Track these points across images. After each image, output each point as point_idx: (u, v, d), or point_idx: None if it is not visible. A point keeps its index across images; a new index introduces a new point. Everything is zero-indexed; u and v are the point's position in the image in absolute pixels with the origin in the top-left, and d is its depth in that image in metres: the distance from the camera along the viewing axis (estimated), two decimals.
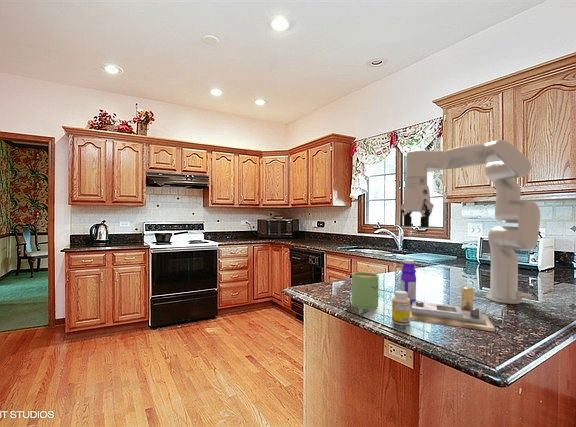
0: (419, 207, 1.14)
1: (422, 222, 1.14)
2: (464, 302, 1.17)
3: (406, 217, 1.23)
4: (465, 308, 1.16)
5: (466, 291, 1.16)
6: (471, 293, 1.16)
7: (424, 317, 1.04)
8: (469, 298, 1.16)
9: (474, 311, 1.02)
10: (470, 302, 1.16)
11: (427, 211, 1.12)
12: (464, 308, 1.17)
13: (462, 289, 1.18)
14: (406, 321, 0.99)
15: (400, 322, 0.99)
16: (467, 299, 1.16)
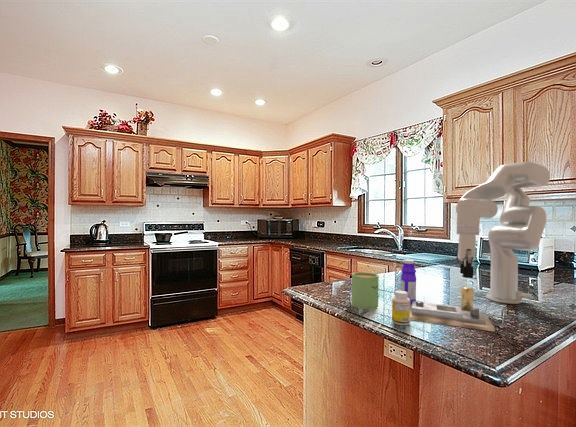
0: None
1: None
2: (464, 302, 1.17)
3: None
4: (465, 308, 1.16)
5: (466, 291, 1.16)
6: (471, 293, 1.16)
7: (424, 317, 1.04)
8: (469, 298, 1.16)
9: (474, 311, 1.02)
10: (470, 302, 1.16)
11: None
12: (464, 308, 1.17)
13: (462, 289, 1.18)
14: (406, 321, 0.99)
15: (400, 322, 0.99)
16: (467, 299, 1.16)
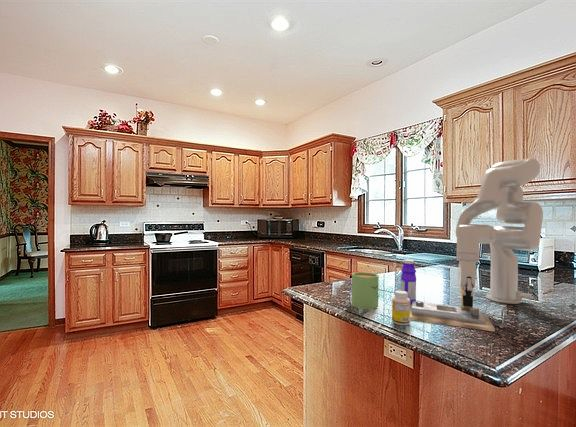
0: None
1: None
2: None
3: None
4: (465, 308, 1.16)
5: None
6: None
7: (424, 317, 1.04)
8: None
9: (474, 311, 1.02)
10: None
11: None
12: (464, 308, 1.17)
13: (462, 289, 1.18)
14: (406, 321, 0.99)
15: (400, 322, 0.99)
16: None
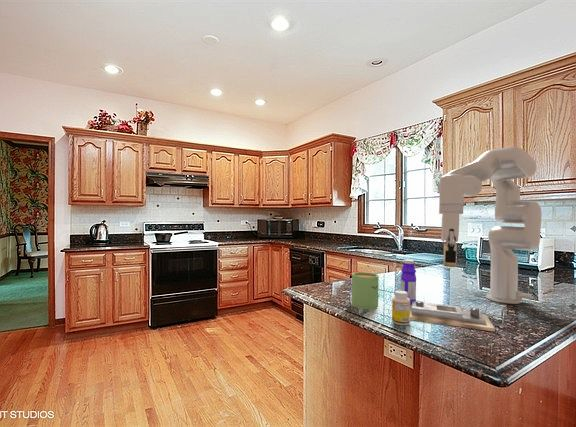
0: None
1: None
2: None
3: None
4: (448, 265, 1.07)
5: None
6: None
7: (424, 317, 1.04)
8: None
9: (474, 311, 1.02)
10: None
11: None
12: (446, 265, 1.07)
13: (445, 244, 1.08)
14: (406, 321, 0.99)
15: (400, 322, 0.99)
16: None
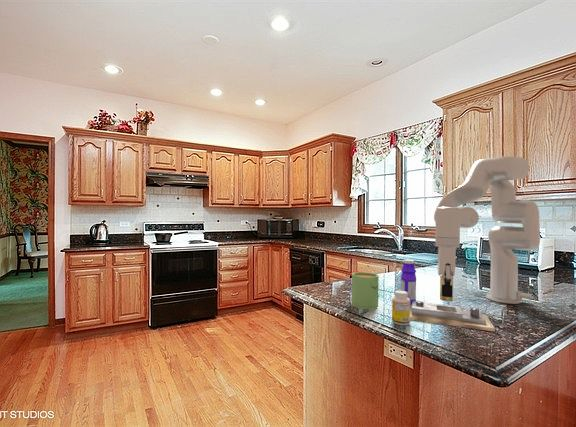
0: None
1: None
2: None
3: None
4: (444, 299, 1.05)
5: None
6: None
7: (424, 317, 1.04)
8: None
9: (474, 311, 1.02)
10: None
11: None
12: (443, 299, 1.05)
13: (441, 278, 1.06)
14: (406, 321, 0.99)
15: (400, 322, 0.99)
16: None
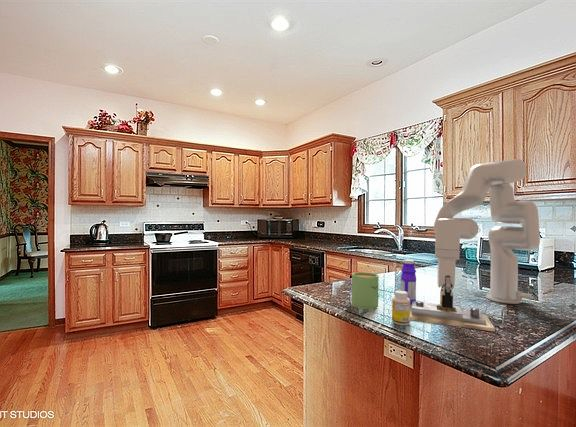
0: None
1: None
2: (442, 308, 1.05)
3: None
4: None
5: None
6: None
7: (424, 317, 1.04)
8: None
9: (474, 311, 1.02)
10: (449, 308, 1.04)
11: None
12: None
13: (441, 293, 1.06)
14: (406, 321, 0.99)
15: (400, 322, 0.99)
16: None
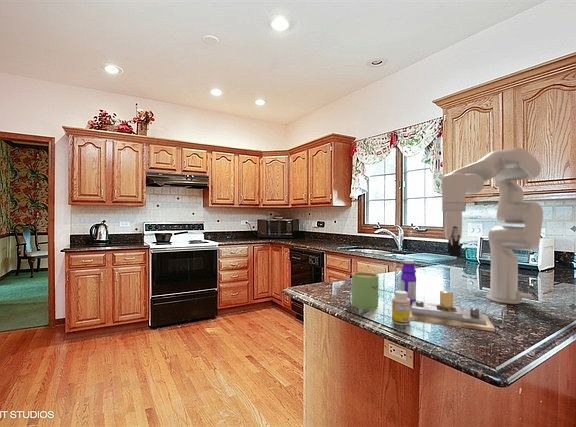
0: None
1: None
2: (442, 308, 1.05)
3: None
4: None
5: (445, 296, 1.05)
6: (450, 298, 1.05)
7: (424, 317, 1.04)
8: (448, 303, 1.05)
9: (474, 311, 1.02)
10: (449, 308, 1.05)
11: None
12: None
13: (441, 293, 1.06)
14: (406, 321, 0.99)
15: (400, 322, 0.99)
16: (446, 305, 1.05)
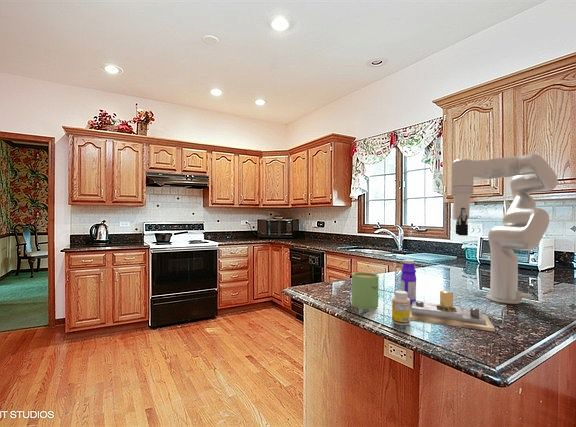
0: None
1: None
2: (442, 308, 1.05)
3: None
4: None
5: (445, 296, 1.05)
6: (450, 298, 1.05)
7: (424, 317, 1.04)
8: (448, 303, 1.05)
9: (474, 311, 1.02)
10: (449, 308, 1.05)
11: None
12: None
13: (441, 293, 1.06)
14: (406, 321, 0.99)
15: (400, 322, 0.99)
16: (446, 305, 1.05)
